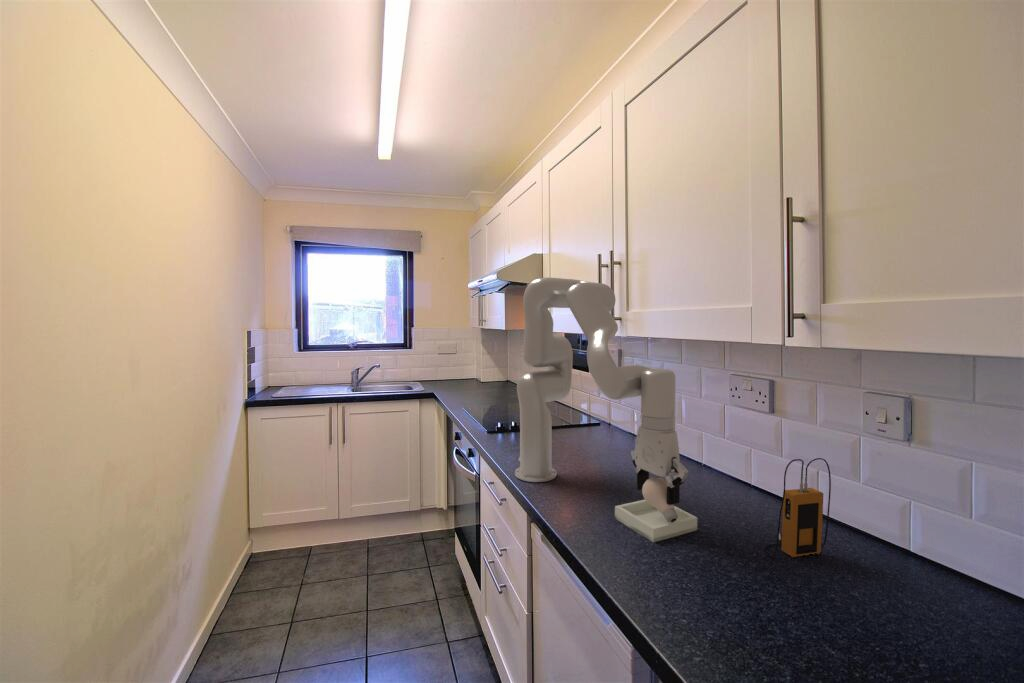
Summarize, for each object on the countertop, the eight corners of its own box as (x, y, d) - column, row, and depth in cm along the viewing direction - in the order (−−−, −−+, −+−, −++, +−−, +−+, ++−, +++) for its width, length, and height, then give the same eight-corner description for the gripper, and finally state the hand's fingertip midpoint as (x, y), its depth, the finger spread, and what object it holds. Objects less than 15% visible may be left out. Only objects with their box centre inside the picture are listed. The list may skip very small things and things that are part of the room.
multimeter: (796, 530, 104) (800, 443, 103) (836, 553, 94) (840, 457, 93) (740, 537, 101) (743, 447, 100) (775, 561, 91) (779, 462, 90)
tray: (614, 518, 110) (614, 506, 110) (656, 508, 116) (656, 496, 116) (653, 542, 99) (653, 529, 98) (697, 530, 104) (697, 517, 104)
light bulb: (691, 509, 99) (665, 468, 107) (663, 515, 97) (639, 474, 106) (684, 526, 103) (659, 485, 111) (657, 532, 101) (634, 491, 110)
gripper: (620, 417, 112) (620, 486, 112) (673, 432, 96) (673, 513, 97) (644, 414, 115) (644, 481, 116) (699, 428, 99) (698, 506, 100)
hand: (657, 495), depth 106 cm, fingers open, 9 cm apart
